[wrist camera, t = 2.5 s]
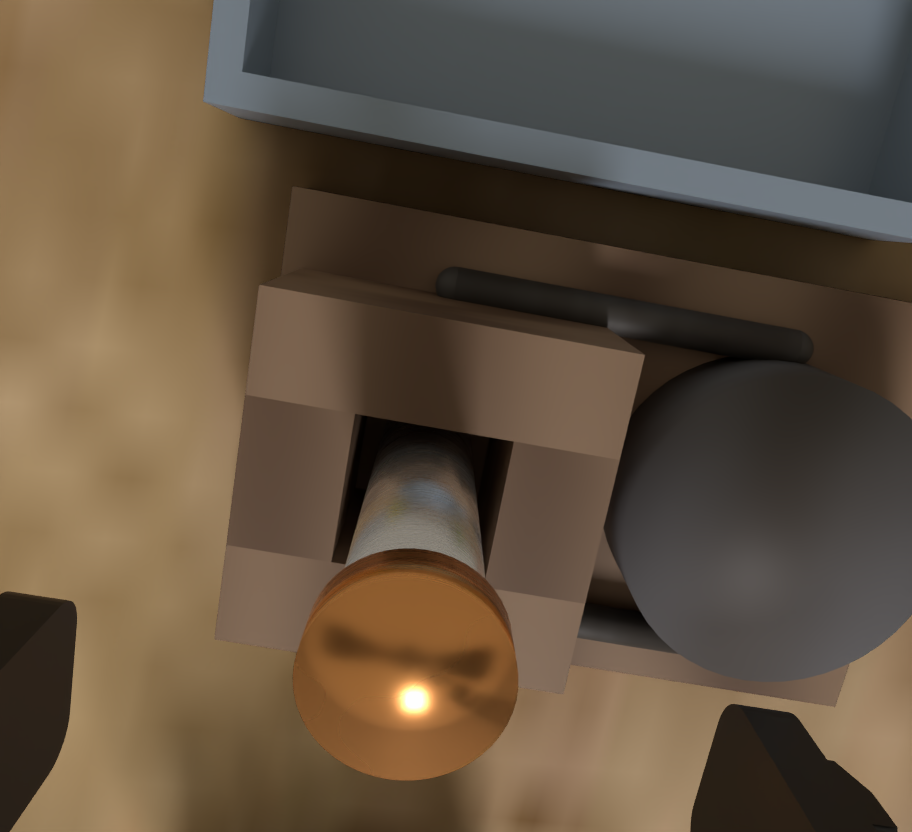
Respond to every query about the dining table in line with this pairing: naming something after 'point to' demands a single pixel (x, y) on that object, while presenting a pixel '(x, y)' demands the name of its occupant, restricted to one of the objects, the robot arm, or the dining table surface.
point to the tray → (604, 94)
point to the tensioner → (586, 445)
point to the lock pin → (410, 622)
